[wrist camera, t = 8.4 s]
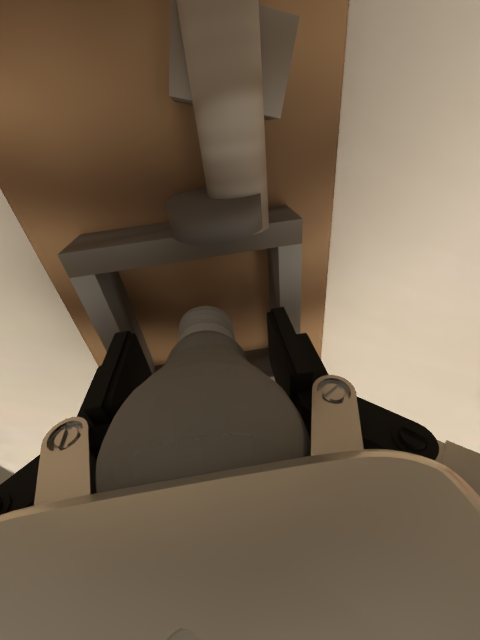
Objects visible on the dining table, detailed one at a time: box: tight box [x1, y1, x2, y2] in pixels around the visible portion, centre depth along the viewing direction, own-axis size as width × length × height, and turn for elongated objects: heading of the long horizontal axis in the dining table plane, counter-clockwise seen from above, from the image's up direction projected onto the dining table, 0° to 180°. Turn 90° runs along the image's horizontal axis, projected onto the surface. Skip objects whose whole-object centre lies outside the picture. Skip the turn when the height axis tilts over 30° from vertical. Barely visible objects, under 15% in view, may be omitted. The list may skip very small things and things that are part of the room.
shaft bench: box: [0, 0, 349, 381], centre depth 14 cm, size 26×14×5 cm, turn 6°
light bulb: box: [95, 306, 311, 493], centre depth 10 cm, size 6×6×10 cm
